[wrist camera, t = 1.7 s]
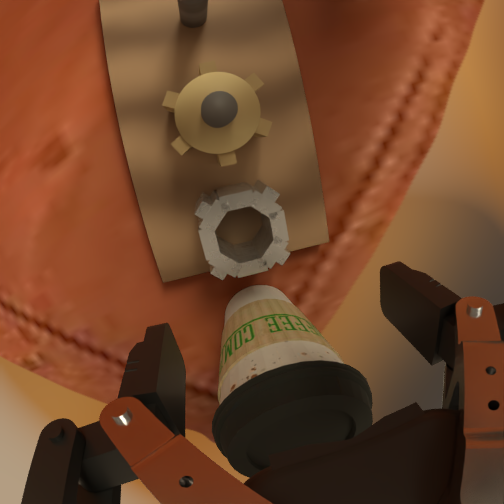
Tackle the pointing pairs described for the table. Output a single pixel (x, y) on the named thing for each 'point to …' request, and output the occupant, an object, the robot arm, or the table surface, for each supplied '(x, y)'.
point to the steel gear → (251, 252)
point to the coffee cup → (281, 383)
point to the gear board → (195, 172)
